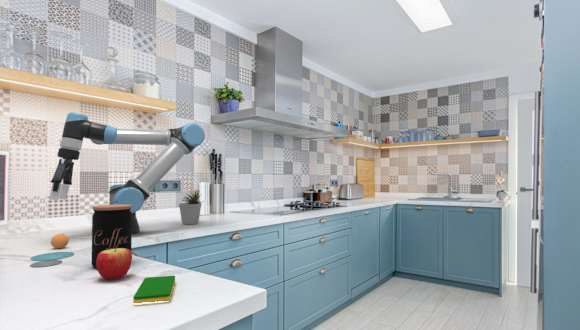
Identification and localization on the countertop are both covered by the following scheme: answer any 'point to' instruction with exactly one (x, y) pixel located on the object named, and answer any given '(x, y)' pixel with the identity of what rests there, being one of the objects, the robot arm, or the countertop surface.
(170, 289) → the dish sponge
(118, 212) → the coffee jar
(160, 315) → the countertop surface
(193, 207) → the potted plant
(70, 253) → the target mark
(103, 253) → the apple
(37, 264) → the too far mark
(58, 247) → the ball
